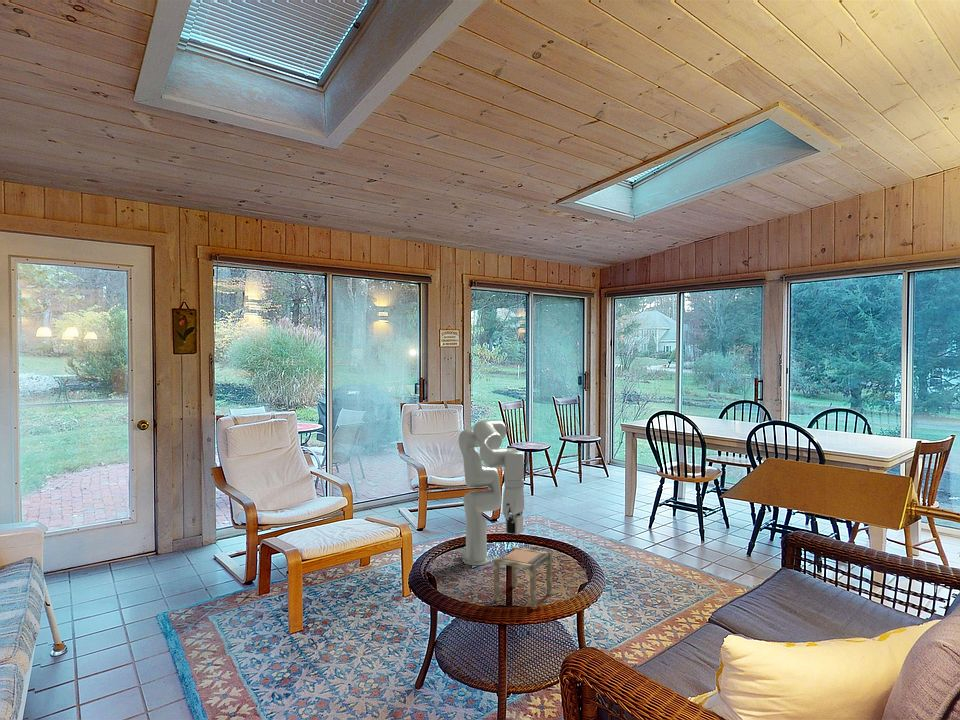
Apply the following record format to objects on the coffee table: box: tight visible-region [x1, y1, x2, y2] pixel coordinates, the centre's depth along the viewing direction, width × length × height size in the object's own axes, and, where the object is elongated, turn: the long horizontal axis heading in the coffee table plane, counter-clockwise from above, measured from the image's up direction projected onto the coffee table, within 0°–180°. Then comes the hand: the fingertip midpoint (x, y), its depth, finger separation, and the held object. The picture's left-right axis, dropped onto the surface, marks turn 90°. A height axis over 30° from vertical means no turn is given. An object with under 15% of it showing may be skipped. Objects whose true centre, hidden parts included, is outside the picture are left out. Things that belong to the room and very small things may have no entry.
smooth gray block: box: [505, 515, 524, 536], centre depth 205 cm, size 5×5×6 cm
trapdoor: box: [501, 549, 544, 565], centre depth 202 cm, size 12×12×1 cm
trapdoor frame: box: [493, 546, 553, 608], centre depth 202 cm, size 17×17×16 cm
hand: (514, 530), depth 205 cm, fingers closed on smooth gray block, 5 cm apart
